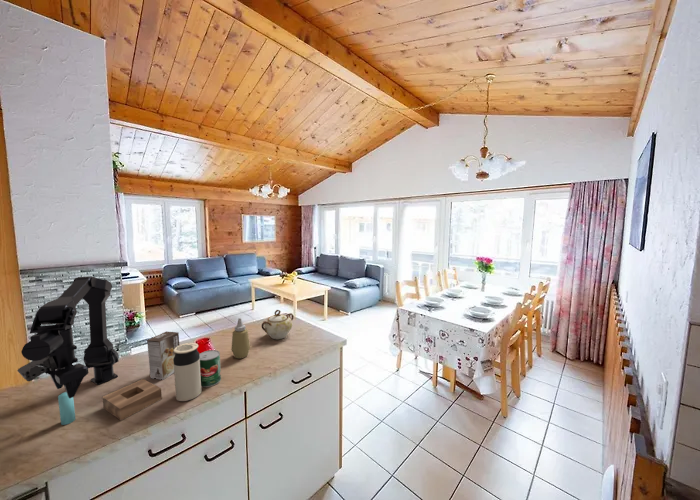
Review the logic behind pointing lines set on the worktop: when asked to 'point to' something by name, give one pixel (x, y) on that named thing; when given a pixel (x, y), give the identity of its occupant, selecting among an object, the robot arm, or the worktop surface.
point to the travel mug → (187, 371)
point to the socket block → (131, 399)
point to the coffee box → (162, 354)
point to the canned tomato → (210, 368)
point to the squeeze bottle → (240, 340)
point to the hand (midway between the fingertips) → (65, 392)
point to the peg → (66, 409)
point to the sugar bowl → (278, 325)
